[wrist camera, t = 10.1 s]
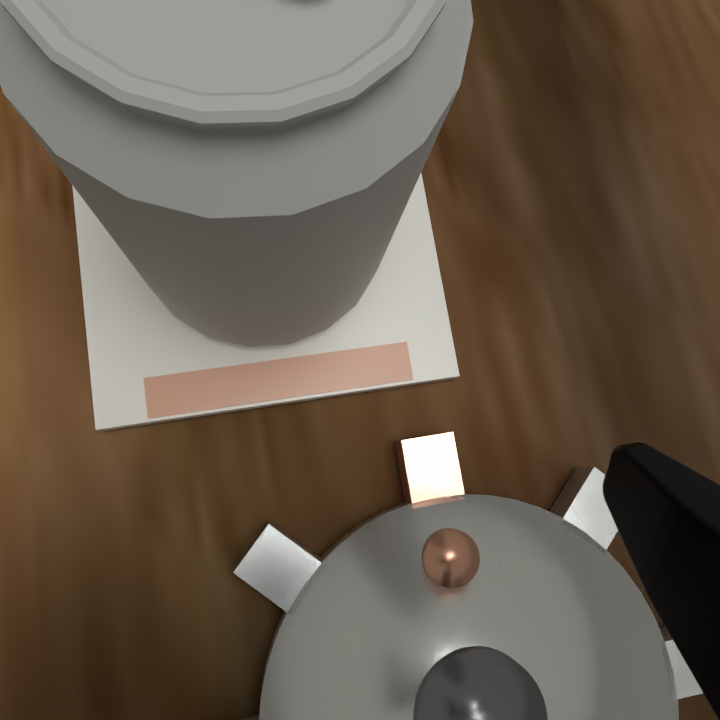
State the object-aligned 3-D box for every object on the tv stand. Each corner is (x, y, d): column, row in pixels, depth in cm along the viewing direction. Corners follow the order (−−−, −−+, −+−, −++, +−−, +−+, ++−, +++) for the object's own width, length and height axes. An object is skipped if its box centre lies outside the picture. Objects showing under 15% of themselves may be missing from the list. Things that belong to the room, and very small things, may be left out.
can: (200, 91, 20) (79, -435, 8) (412, 181, 21) (580, -207, 9) (96, 296, 19) (-227, 0, 7) (327, 390, 19) (393, 260, 7)
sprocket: (766, 922, 18) (817, 970, 17) (233, 1082, 16) (226, 1157, 14) (644, 401, 21) (677, 395, 19) (166, 479, 19) (153, 479, 17)
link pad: (454, 378, 20) (460, 375, 19) (101, 430, 19) (94, 429, 18) (396, 72, 22) (400, 59, 21) (69, 96, 20) (61, 83, 20)
